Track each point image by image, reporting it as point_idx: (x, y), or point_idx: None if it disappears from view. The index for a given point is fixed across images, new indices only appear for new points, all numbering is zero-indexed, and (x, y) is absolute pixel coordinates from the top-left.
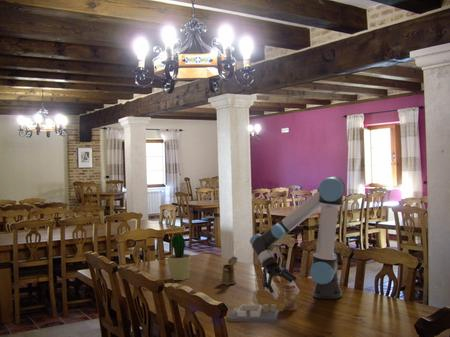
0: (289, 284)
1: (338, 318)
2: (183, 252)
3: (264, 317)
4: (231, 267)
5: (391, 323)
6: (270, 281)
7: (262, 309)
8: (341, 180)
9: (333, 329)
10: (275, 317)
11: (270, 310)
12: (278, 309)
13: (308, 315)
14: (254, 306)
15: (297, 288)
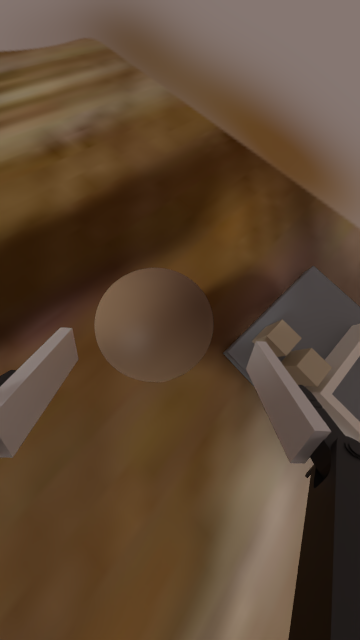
0: (142, 330)
1: (121, 169)
2: None
3: (338, 307)
4: None
5: (61, 72)
6: (354, 498)
7: None
8: None
9: (206, 138)
10: (303, 279)
11: None
12: (236, 345)
13: (168, 246)
14: (351, 418)
15: (52, 343)
